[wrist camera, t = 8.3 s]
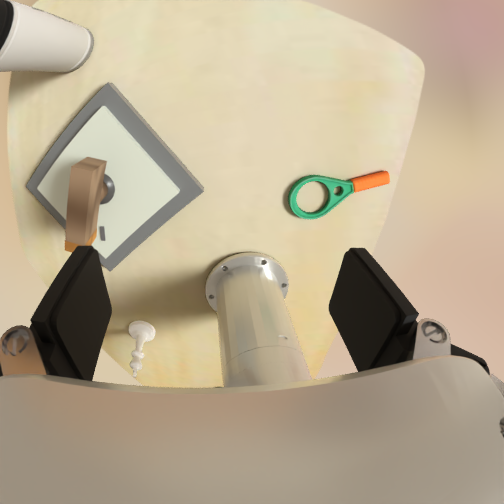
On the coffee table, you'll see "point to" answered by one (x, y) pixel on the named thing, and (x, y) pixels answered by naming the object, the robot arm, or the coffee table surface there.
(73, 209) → the t key
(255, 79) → the coffee table surface
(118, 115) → the cover
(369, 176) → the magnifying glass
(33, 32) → the travel mug
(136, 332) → the chess piece
